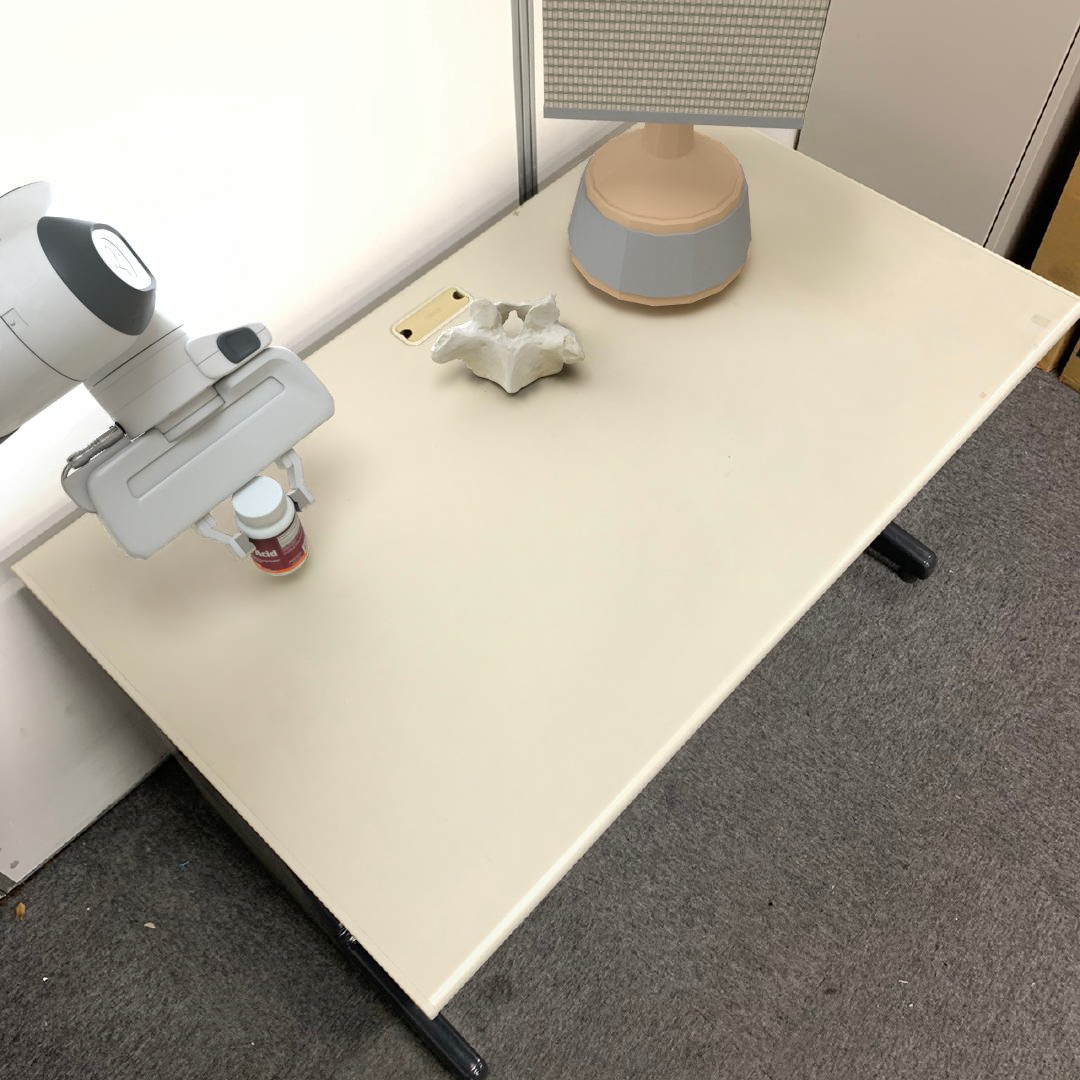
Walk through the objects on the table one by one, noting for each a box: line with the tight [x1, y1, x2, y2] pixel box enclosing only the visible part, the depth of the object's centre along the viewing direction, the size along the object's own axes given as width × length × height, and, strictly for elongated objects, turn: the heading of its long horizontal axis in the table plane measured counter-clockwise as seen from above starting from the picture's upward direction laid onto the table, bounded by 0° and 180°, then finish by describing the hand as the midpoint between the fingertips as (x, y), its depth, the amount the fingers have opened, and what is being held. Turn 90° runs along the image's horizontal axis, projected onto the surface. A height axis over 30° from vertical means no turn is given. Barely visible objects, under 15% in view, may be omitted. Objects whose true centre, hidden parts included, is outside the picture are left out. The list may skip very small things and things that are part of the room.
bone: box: [430, 292, 586, 394], centre depth 94 cm, size 9×14×8 cm, turn 104°
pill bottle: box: [230, 475, 310, 577], centre depth 81 cm, size 5×5×8 cm
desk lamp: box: [541, 0, 830, 307], centre depth 91 cm, size 22×19×37 cm
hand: (278, 530), depth 80 cm, fingers closed on pill bottle, 5 cm apart
